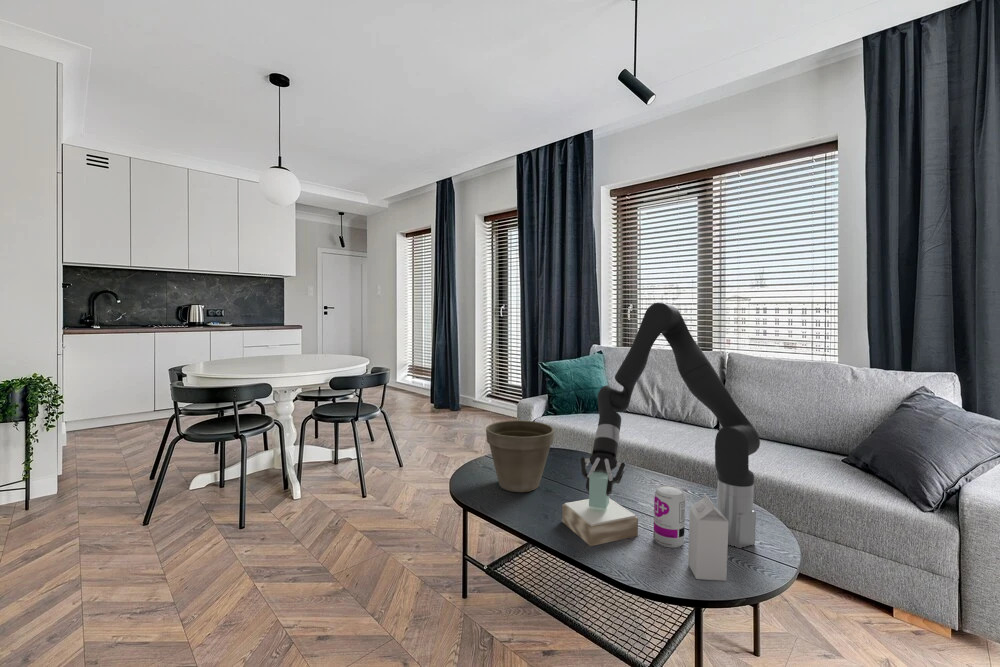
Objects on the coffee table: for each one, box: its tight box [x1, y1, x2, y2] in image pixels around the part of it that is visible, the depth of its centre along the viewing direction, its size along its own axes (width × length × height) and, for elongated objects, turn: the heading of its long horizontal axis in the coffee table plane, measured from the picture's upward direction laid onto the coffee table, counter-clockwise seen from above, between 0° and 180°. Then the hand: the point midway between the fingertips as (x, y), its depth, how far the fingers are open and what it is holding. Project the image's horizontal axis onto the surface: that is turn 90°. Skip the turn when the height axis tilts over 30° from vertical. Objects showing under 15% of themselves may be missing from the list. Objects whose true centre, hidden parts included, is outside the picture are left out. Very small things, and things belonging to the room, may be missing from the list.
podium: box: [561, 497, 639, 547], centre depth 144 cm, size 16×16×6 cm
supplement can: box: [653, 484, 686, 549], centre depth 136 cm, size 8×8×15 cm
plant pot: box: [485, 420, 555, 493], centre depth 177 cm, size 25×25×22 cm
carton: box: [588, 471, 610, 509], centre depth 143 cm, size 5×5×9 cm
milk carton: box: [687, 492, 729, 582], centre depth 120 cm, size 7×7×19 cm
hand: (598, 493), depth 142 cm, fingers closed on carton, 4 cm apart
